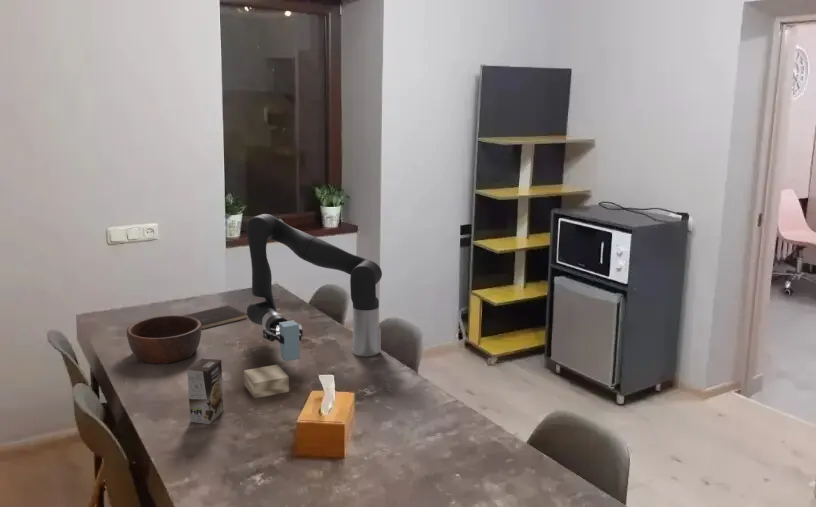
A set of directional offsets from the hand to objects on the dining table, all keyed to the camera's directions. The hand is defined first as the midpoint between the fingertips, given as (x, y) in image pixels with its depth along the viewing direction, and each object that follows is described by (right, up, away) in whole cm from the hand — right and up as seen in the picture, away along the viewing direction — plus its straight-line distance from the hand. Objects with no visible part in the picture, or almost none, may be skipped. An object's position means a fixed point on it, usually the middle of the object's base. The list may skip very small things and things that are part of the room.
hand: (291, 339), depth 232 cm
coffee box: (-20, -19, -28) cm, 39 cm away
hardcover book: (-41, +1, +54) cm, 68 cm away
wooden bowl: (-47, -7, +18) cm, 51 cm away
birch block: (-6, -14, -9) cm, 18 cm away
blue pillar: (-1, -6, +3) cm, 7 cm away
